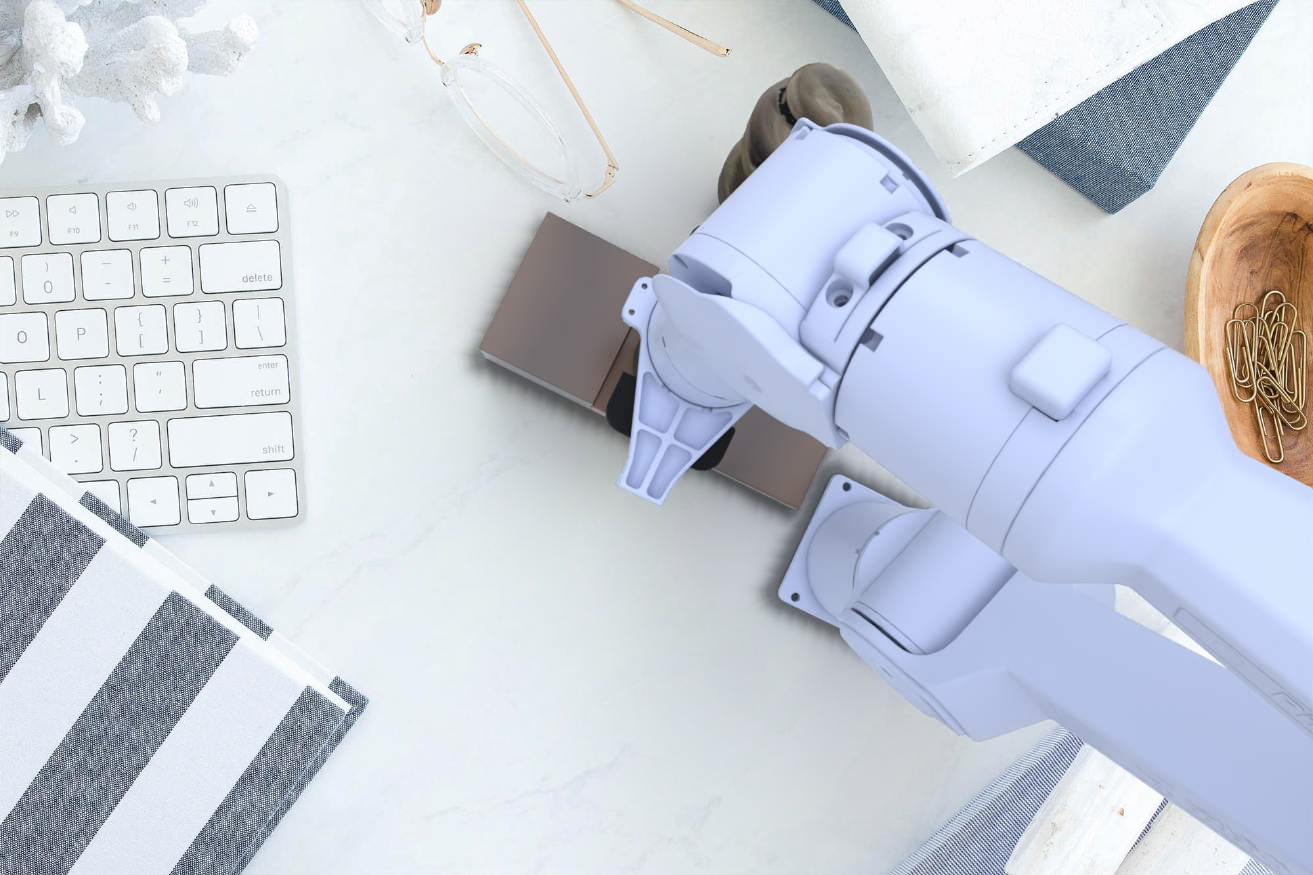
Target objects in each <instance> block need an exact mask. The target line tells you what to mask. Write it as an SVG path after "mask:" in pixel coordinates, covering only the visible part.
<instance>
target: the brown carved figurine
mask: <svg viewBox="0 0 1313 875" xmlns="http://www.w3.org/2000/svg"><path fill="white" fill-rule="evenodd" d="M800 118H807V119H809V120H810V121H812V122H813V123H815V124H816V125H818V126H820V127H827V126H829V125H831V124H836V123H847V124H852V125H856V126H860V127H862V128H865V129H867V130H870V131H872V132H874V131H875V130H874V129H875V126H874V125H875V124H874V118H873V112H872V108H871V105H870V101H869V99H868V97H867V95H866V93H865V91H864V89H863V88H862V87H861V85H860V84H859V83H858V81H857V80H856V79H855V78H854V77H853V76H852V75H851V74H850V73H848V72H847V71H846V70H845V69H843V68H841V67H839V66H837V65H834V64H831V63H826V62H821V61H820V62H812V63H806V64H805V65H803V66H800V67H798V69H796V70H794V72H793V73H792V75H791V76H789V77H785V78H783V79H782V80H780V81H778V82H776V83H774V84H773V85H770V86H769V87H768V88H767V89H766V90H765V91H764V92H763V93H761V95H760V97H759V98H758V99H757V101H756V103H755V105H754V108H753V110H752V112H751V115H750V117H749V118H748V120H747V123H746V126H745V129H744V133H743V135H742V137H741V138H740V139H739V140H738V141H737V142H736V143H735V145H734V146H733V147H732V148H731V149H730V152H729V153H728V155H727V157H726V158H725V161H724V163H723V165H722V167H721V171H720V174H719V176H718V180H717V199H718V203H719V206H720V205H721V204H722V203H723V202H724V201H725V200H726V199H727V198H728V197H729V196H730V195H731V194H732V193H733V192H734V191H735V190H736V189H737V188H738V187H739V186H740V185H741V184H742V183H743V182H744V181H745V180H746V179H747V178H748V177H749V176H750V175H751V174H752V173H753V172H754V171H755V170H756V169H757V168H758V167H759V166H760V165H761V164H762V163H763V162H764V161H765V160H766V159H767V158H768V157H769V156H770V155H771V154H772V153H773V152H774V151H775V150H776V149H777V148H778V147H779V146H780V145H781V144H782V143H783V142H784V141H785V140H786V139H787V138H788V137H789V135H790V133H791V131H792V129H793V127H794V126H795V124H796V122H797V121H798V120H799V119H800ZM874 133H875V132H874Z"/></svg>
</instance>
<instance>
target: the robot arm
mask: <svg viewBox="0 0 1313 875" xmlns="http://www.w3.org/2000/svg"><path fill="white" fill-rule="evenodd" d="M914 163H915V161H913V160H912V159H911V158H910V157H909V156H908V155H907V154H906V153H905V152H903V151H902V150H901V149H900V148H898V146H896V145H895V144H893V143H892V142H890V141H889V140H887V139H886V138H884V137H883V136H881V135H879V134H878V133H876V132H872V131H870V130H867V129H865V128H862V127H860V126H856V125H852V124H847V123H836V124H831V125H829V126H827V127H820V126H818V125H816V124H815V123H813V122H812V121H810V120H809V119H807V118H800V119H799V120H798V121H797V122H796V124H795V126H794V127H793V129H792V131H791V133H790V135H789V137H788V138H787V139H786V140H785V141H784V142H783V143H782V144H781V145H780V146H779V147H778V148H777V149H776V150H775V151H774V152H773V153H772V154H771V155H770V156H769V157H768V158H767V159H766V160H765V161H764V162H763V163H762V164H761V165H760V166H759V167H758V168H757V169H756V170H755V171H754V172H753V173H752V174H751V175H750V176H749V177H748V178H747V179H746V180H745V181H744V182H743V183H742V184H741V185H740V186H739V187H738V188H737V189H736V190H735V191H734V192H733V193H732V194H731V195H730V196H729V197H728V198H727V199H726V200H725V201H724V202H723V203H722V204H721V205H720V204H719V206H718V207H717V208H716V209H715V210H714V211H713V212H712V213H711V214H710V215H709V216H708V217H707V218H706V219H705V220H704V221H703V222H702V223H701V224H700V225H698V226H696V227H695V228H694V229H693V230H692V231H691V232H690V234H689V235H688V237H687V238H686V239H685V240H684V241H683V242H681V244H680V245H679V246H678V247H677V248H676V249H675V250H673V252H672V253H671V254H670V255H669V257H668V260H667V261H668V262H667V264H668V268H669V272H670V275H668V274H665V273H657V275H655V276H654V277H653V278H649V277H643V278H639V279H638V281H637V282H636V283H635V285H634V287H633V289H632V291H631V293H630V295H629V297H628V299H627V301H626V303H625V305H624V307H623V309H622V314H621V315H622V318H623V321H624V322H625V323H626V324H627V325H629V326H631V327H633V328H635V329H636V330H637V331H638V332H639V334H640V336H641V343H640V353H639V363H638V372H637V378H636V377H634V376H632V375H630V374H628V373H626V372H624V371H623V372H622V374H621V376H620V378H619V380H618V383H617V385H616V387H615V389H614V391H613V393H612V395H611V397H610V399H609V401H608V403H607V406H606V417H605V419H606V422H607V423H608V425H609V426H610V427H611V428H612V429H613V430H614V431H615V432H617V433H619V434H621V435H623V436H624V437H627V438H629V439H630V441H629V447H628V454H627V458H626V461H625V464H624V466H623V467H622V469H621V471H620V473H619V475H618V477H617V480H616V481H615V486H616V487H618V488H621V489H622V490H625V491H626V492H629V493H630V494H632V495H634V496H636V497H639V498H641V499H643V500H645V501H647V502H649V503H651V504H653V505H655V506H657V507H660V508H661V507H663V505H664V503H665V502H666V499H667V498H668V496H669V494H670V492H671V491H672V490H673V488H674V486H675V484H676V483H677V482H678V481H679V479H680V478H681V477H682V476H683V475H684V474H685V473H686V471H687V470H688V469H692V470H695V471H699V472H705V471H710V470H712V468H714V467H716V466H717V465H718V464H719V463H720V462H721V460H722V459H723V457H724V455H725V453H726V450H727V448H728V446H729V444H730V442H731V440H732V438H733V436H734V434H735V431H736V430H735V428H734V427H732V425H733V424H734V423H735V422H736V421H737V420H738V419H739V418H740V417H741V416H742V415H743V414H745V413H746V412H747V411H748V410H749V409H750V408H751V407H752V406H753V405H754V404H755V405H757V406H758V407H760V408H761V409H762V410H764V411H765V412H767V413H768V414H770V415H771V416H773V417H774V418H776V419H777V420H779V421H781V422H782V423H784V424H786V425H788V426H790V427H792V428H795V429H798V430H801V431H804V432H806V433H808V434H810V435H811V436H813V437H814V438H816V439H817V440H819V441H820V442H821V443H823V444H824V445H825V446H827V447H828V448H831V449H832V450H834V451H836V452H839V451H840V450H841V449H842V448H843V447H844V446H845V445H846V444H847V443H850V444H852V445H853V446H854V447H855V448H857V449H858V450H859V451H861V452H862V453H863V454H865V455H866V456H868V457H869V458H870V459H871V460H873V461H874V462H875V463H877V464H878V465H879V466H881V467H882V468H883V469H885V470H886V471H887V472H889V473H890V474H891V475H893V476H894V477H895V478H897V479H898V480H899V481H901V482H902V483H903V484H904V485H906V486H907V487H908V488H910V489H911V490H912V491H914V492H915V493H916V494H918V495H919V496H921V497H922V498H923V499H924V500H925V501H927V502H928V503H930V504H931V505H932V506H933V507H930V508H926V509H924V508H917V507H909V506H905V505H903V504H901V503H900V502H897V501H895V500H893V499H891V498H890V497H887V496H885V495H883V494H881V493H879V492H877V491H876V490H873V489H872V488H869V487H867V486H865V485H864V484H861V483H860V482H857V481H855V480H853V479H851V478H850V477H847V476H845V475H843V474H839V473H838V474H833V475H832V476H831V477H830V478H829V481H828V482H827V485H826V487H825V489H824V491H823V493H822V496H821V498H820V500H819V502H818V504H817V506H816V508H815V510H814V513H813V515H812V517H811V519H810V521H809V524H808V526H807V527H806V530H805V532H804V533H803V536H802V538H801V540H800V542H799V545H798V547H797V549H796V551H795V553H794V554H793V555H794V556H793V558H792V560H791V562H790V564H789V566H788V569H787V570H786V572H785V575H784V577H783V579H782V581H781V583H780V585H779V588H778V590H777V596H778V598H779V599H780V600H781V601H782V602H784V603H786V604H788V605H790V606H792V607H795V608H796V609H798V610H801V611H803V612H805V613H807V614H809V615H811V616H814V617H815V618H818V619H820V620H822V621H824V622H825V623H828V624H830V625H832V626H834V627H836V628H838V629H839V634H840V636H841V638H842V639H843V640H844V641H845V643H846V644H847V645H848V646H849V647H850V648H851V649H852V650H853V652H854V653H856V655H857V656H858V657H859V658H861V660H862V661H863V662H864V663H866V665H868V667H870V668H871V669H872V670H873V671H874V672H875V673H876V674H877V675H878V676H879V677H880V678H881V679H882V680H883V681H884V682H886V683H887V685H889V686H890V687H891V688H892V689H893V690H894V691H896V692H897V693H898V694H899V695H900V696H901V697H902V698H903V699H905V700H906V701H907V702H908V703H910V704H911V705H912V706H913V707H915V708H916V709H917V710H918V711H920V712H921V713H922V714H924V715H925V716H927V717H929V718H934V719H935V720H937V721H939V723H942V725H944V726H945V727H947V728H948V729H949V730H951V731H952V732H953V733H954V734H956V735H958V736H966V737H968V738H969V739H970V740H972V741H973V742H974V743H981V742H984V741H988V740H992V739H995V738H998V737H1001V736H1003V735H1006V734H1009V733H1012V732H1015V731H1019V730H1021V729H1024V728H1027V727H1030V726H1033V725H1037V724H1039V723H1042V722H1044V721H1048V720H1052V721H1054V722H1055V723H1057V724H1058V725H1059V726H1060V727H1062V728H1064V729H1066V730H1067V731H1068V732H1070V733H1071V734H1072V735H1074V736H1076V737H1077V738H1078V739H1080V740H1081V741H1082V742H1084V743H1085V744H1087V745H1088V746H1089V747H1091V748H1093V749H1095V751H1097V752H1098V753H1100V754H1101V755H1103V756H1104V757H1105V758H1107V759H1108V760H1110V761H1111V762H1113V763H1114V764H1115V765H1117V766H1119V767H1120V768H1122V769H1123V770H1124V771H1126V772H1127V773H1129V774H1130V775H1131V776H1132V777H1134V778H1135V779H1138V780H1139V781H1140V782H1141V783H1143V784H1144V785H1146V786H1147V787H1148V788H1150V789H1152V790H1153V791H1155V792H1156V793H1157V794H1159V795H1161V797H1163V798H1165V799H1166V800H1167V801H1169V802H1171V803H1172V804H1173V805H1175V806H1176V807H1178V808H1179V809H1180V810H1182V811H1183V812H1185V813H1186V814H1187V815H1189V816H1191V817H1192V818H1194V819H1195V820H1197V821H1198V822H1199V823H1201V824H1202V825H1204V826H1205V827H1206V828H1208V829H1209V830H1211V831H1213V833H1215V834H1216V835H1218V836H1219V837H1221V838H1222V839H1224V840H1225V841H1227V842H1228V843H1230V844H1231V845H1232V846H1234V847H1236V848H1237V849H1239V850H1240V851H1241V852H1243V853H1244V854H1246V855H1247V856H1248V857H1250V858H1251V859H1252V860H1254V861H1256V862H1257V863H1258V864H1260V865H1261V866H1263V867H1264V868H1266V869H1267V870H1268V871H1270V872H1271V873H1273V874H1274V875H1313V487H1311V486H1309V485H1307V484H1306V483H1303V482H1301V481H1299V480H1297V479H1295V478H1293V477H1291V476H1289V475H1288V474H1285V473H1284V472H1281V471H1279V470H1278V469H1275V468H1273V467H1271V466H1269V465H1267V464H1265V463H1263V462H1260V461H1259V460H1257V459H1255V458H1253V457H1250V456H1249V455H1247V454H1245V453H1244V452H1242V451H1241V450H1240V448H1239V446H1237V443H1236V442H1235V440H1234V438H1233V435H1232V432H1231V429H1230V426H1229V423H1228V420H1227V418H1226V414H1225V411H1224V409H1223V405H1222V402H1221V400H1220V396H1219V393H1218V390H1217V388H1216V384H1215V382H1214V379H1213V377H1212V375H1211V374H1210V372H1209V371H1208V369H1207V368H1206V367H1205V366H1204V365H1202V364H1201V363H1199V362H1198V361H1196V360H1193V359H1192V358H1191V357H1189V356H1187V355H1185V354H1183V353H1181V352H1180V351H1178V350H1176V349H1174V348H1171V347H1170V346H1169V345H1167V344H1165V343H1163V342H1162V341H1160V340H1159V339H1156V338H1155V337H1152V336H1151V335H1149V334H1147V333H1146V332H1144V331H1142V330H1140V329H1138V328H1137V327H1135V326H1133V325H1131V324H1129V323H1127V322H1125V321H1124V320H1122V319H1120V318H1118V317H1116V316H1115V315H1113V314H1111V313H1109V312H1107V311H1106V310H1104V309H1101V308H1100V307H1099V306H1096V305H1095V304H1093V303H1091V302H1089V301H1087V300H1086V299H1084V298H1082V297H1080V296H1079V295H1077V294H1076V293H1073V292H1071V291H1070V290H1068V289H1066V288H1065V287H1062V286H1061V285H1059V284H1057V283H1056V282H1054V281H1052V280H1050V279H1048V278H1046V277H1045V276H1043V275H1042V274H1039V273H1037V272H1036V271H1034V270H1032V269H1030V268H1028V267H1027V266H1025V265H1023V264H1021V263H1019V262H1018V261H1016V260H1014V259H1012V258H1011V257H1009V256H1007V255H1006V254H1003V253H1002V252H1000V251H998V250H996V249H995V248H993V247H991V246H989V245H987V244H986V243H984V242H981V241H980V240H979V239H977V238H975V237H974V236H972V235H970V234H968V233H966V232H964V231H963V230H961V229H959V228H957V227H955V226H954V225H953V221H952V218H951V215H950V212H949V210H948V208H947V205H946V203H945V202H944V199H943V198H942V196H941V194H940V193H939V191H938V190H937V188H936V187H935V185H934V184H933V183H932V181H931V180H930V179H929V177H928V176H927V175H926V174H925V172H924V171H923V170H922V169H921V168H918V167H917V165H916V164H914ZM642 286H644V287H646V289H643V288H642ZM629 312H632V313H633V315H630V314H629ZM846 483H847V484H848V486H849V487H848V489H847V490H844V485H845V484H846ZM1116 585H1119V586H1123V587H1127V588H1130V589H1132V591H1134V592H1135V593H1136V594H1137V595H1138V596H1140V597H1141V598H1142V599H1143V600H1145V601H1146V602H1147V603H1148V604H1149V605H1151V606H1152V607H1153V608H1154V609H1155V610H1157V611H1158V612H1159V613H1160V614H1161V615H1162V616H1163V617H1165V618H1166V619H1167V620H1169V622H1171V623H1172V624H1173V625H1174V626H1176V627H1177V628H1178V629H1179V630H1180V631H1182V632H1183V633H1184V634H1185V635H1187V637H1189V638H1190V639H1191V640H1192V641H1193V642H1194V643H1196V644H1197V645H1198V646H1200V648H1202V649H1203V650H1204V651H1205V652H1207V653H1208V654H1209V655H1210V656H1212V657H1213V659H1215V660H1216V661H1217V662H1218V663H1217V662H1215V661H1214V660H1211V659H1209V658H1208V657H1205V656H1203V655H1202V654H1200V653H1198V652H1196V651H1194V650H1192V649H1190V648H1189V647H1186V646H1184V645H1182V644H1181V643H1179V642H1177V641H1175V640H1173V639H1171V638H1168V637H1167V636H1165V635H1163V634H1161V633H1159V632H1157V631H1155V630H1154V629H1151V628H1149V627H1147V626H1146V625H1143V624H1141V623H1139V622H1138V621H1135V620H1134V619H1132V618H1130V617H1128V616H1126V615H1124V614H1122V613H1120V612H1118V611H1117V610H1115V609H1116V608H1115V607H1116V596H1117V595H1116V593H1117V592H1116ZM794 594H797V596H798V597H797V599H796V600H793V599H792V595H794Z"/></svg>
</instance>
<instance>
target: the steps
mask: <svg viewBox="0 0 1313 875" xmlns="http://www.w3.org/2000/svg"><path fill="white" fill-rule="evenodd" d="M659 271H660V267H658V266H656V265H654V264H653V263H650V262H648V261H646V260H645V259H643V258H640V257H638V256H637V255H635V254H633V253H631V252H629V251H627V250H625V249H623V248H622V247H619V246H617V245H615V244H613V243H611V242H609V241H608V240H605V239H603V238H601V237H600V236H598V235H596V234H594V233H592V232H590V231H588V230H586V229H584V228H582V227H580V226H578V225H576V224H574V223H572V222H570V221H568V220H566V219H565V218H562V217H561V216H558V215H556V214H554V213H553V212H550V211H547V212H546V214H545V215H544V218H543V219H542V222H541V224H540V226H539V229H537V232H536V234H535V235H534V238H533V239H532V242H531V244H530V246H529V248H528V249H527V251H526V254H525V256H524V258H523V260H522V262H521V264H520V266H519V268H518V269H517V272H516V274H515V276H514V278H513V280H512V282H511V284H510V286H509V288H508V289H507V292H506V294H505V295H504V298H503V300H502V301H501V304H500V305H499V307H498V310H497V312H496V314H495V316H494V317H493V319H492V322H491V324H490V325H489V328H488V330H487V331H486V333H485V335H484V338H483V339H482V340H481V343H480V345H479V347H478V348H479V350H480V353H482V355H483V356H484V358H485V359H486V360H488V361H491V362H493V363H495V364H496V365H499V366H500V367H503V368H505V369H507V370H508V371H511V372H512V373H515V374H517V375H519V376H521V377H523V378H525V379H527V380H529V381H531V382H532V383H535V384H537V385H539V386H541V387H543V388H545V389H547V390H549V391H552V392H553V393H556V394H558V395H559V396H562V397H564V398H566V399H568V400H569V401H572V402H574V403H576V404H578V405H580V406H582V407H584V408H586V409H587V410H590V411H592V412H595V413H596V414H598V415H600V416H602V417H605V418H606V406H607V403H608V401H609V399H610V397H611V395H612V393H613V391H614V389H615V387H616V385H617V383H618V380H619V378H620V376H621V374H622V372H623V371H624V372H626V373H628V374H630V375H632V376H634V371H633V357H634V352H635V349H636V346H637V344H638V342H639V340H640V339H641V336H640V334H639V332H638V331H637V330H636V329H635V328H633V327H631V326H629V325H627V324H626V323H625V322H624V321H623V318H622V315H621V314H622V309H623V307H624V305H625V303H626V301H627V299H628V297H629V295H630V293H631V291H632V289H633V287H634V285H635V283H636V282H637V281H638V279H639V278H643V277H649V278H653V277H654V276H655V275H657V274H659ZM642 288H643V289H646V287H644V286H642ZM629 314H630V315H633V313H632V312H629ZM634 377H635V376H634ZM732 427H734V428H735V430H736V431H735V434H734V436H733V438H732V440H731V442H730V444H729V446H728V448H727V450H726V453H725V455H724V457H723V459H722V460H721V462H720V463H719V464H718V465H717V466H716V467H714V468H712V469H711V470H712V471H714V472H717V473H719V474H720V475H723V476H724V477H727V478H728V479H731V480H733V481H735V482H736V483H739V484H741V485H743V486H745V487H747V488H749V489H751V490H753V491H755V492H758V493H759V494H761V495H763V496H765V497H767V498H769V499H771V500H773V501H775V502H778V503H779V504H782V505H783V506H786V507H787V508H790V509H793V510H799V509H800V507H801V505H802V503H803V501H804V498H805V496H806V494H807V492H808V490H809V489H810V486H811V484H812V483H813V482H812V481H813V479H814V477H815V475H816V473H817V471H818V469H819V467H820V464H821V462H822V460H823V458H824V456H825V454H826V452H827V450H828V448H829V447H827V446H825V445H824V444H823V443H821V442H820V441H819V440H817V439H816V438H814V437H813V436H811V435H810V434H808V433H806V432H804V431H801V430H798V429H795V428H792V427H790V426H788V425H786V424H784V423H782V422H781V421H779V420H777V419H776V418H774V417H773V416H771V415H770V414H768V413H767V412H765V411H764V410H762V409H761V408H760V407H758V406H757V405H755V404H754V405H753V406H752V407H751V408H750V409H749V410H748V411H747V412H746V413H745V414H743V415H742V416H741V417H740V418H739V419H738V420H737V421H736V422H735V423H734V424H733V425H732Z"/></svg>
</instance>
